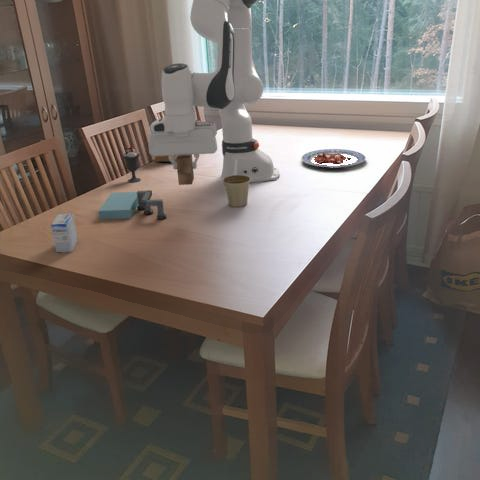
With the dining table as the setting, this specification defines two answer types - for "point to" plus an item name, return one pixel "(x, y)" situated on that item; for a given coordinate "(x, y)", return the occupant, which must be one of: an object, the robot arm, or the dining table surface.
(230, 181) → the flower pot
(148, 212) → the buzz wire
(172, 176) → the dining table surface
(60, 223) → the medicine box
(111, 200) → the platform
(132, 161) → the sundae
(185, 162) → the walnut block
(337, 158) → the ceramic plate
